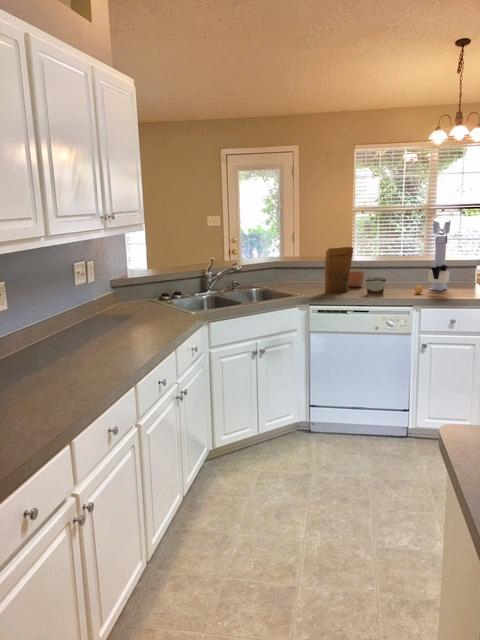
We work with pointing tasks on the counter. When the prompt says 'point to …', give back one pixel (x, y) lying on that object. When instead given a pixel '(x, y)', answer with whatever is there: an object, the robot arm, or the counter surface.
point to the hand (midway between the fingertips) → (438, 278)
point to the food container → (375, 285)
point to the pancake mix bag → (337, 269)
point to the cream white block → (441, 279)
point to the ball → (418, 289)
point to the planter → (356, 278)
